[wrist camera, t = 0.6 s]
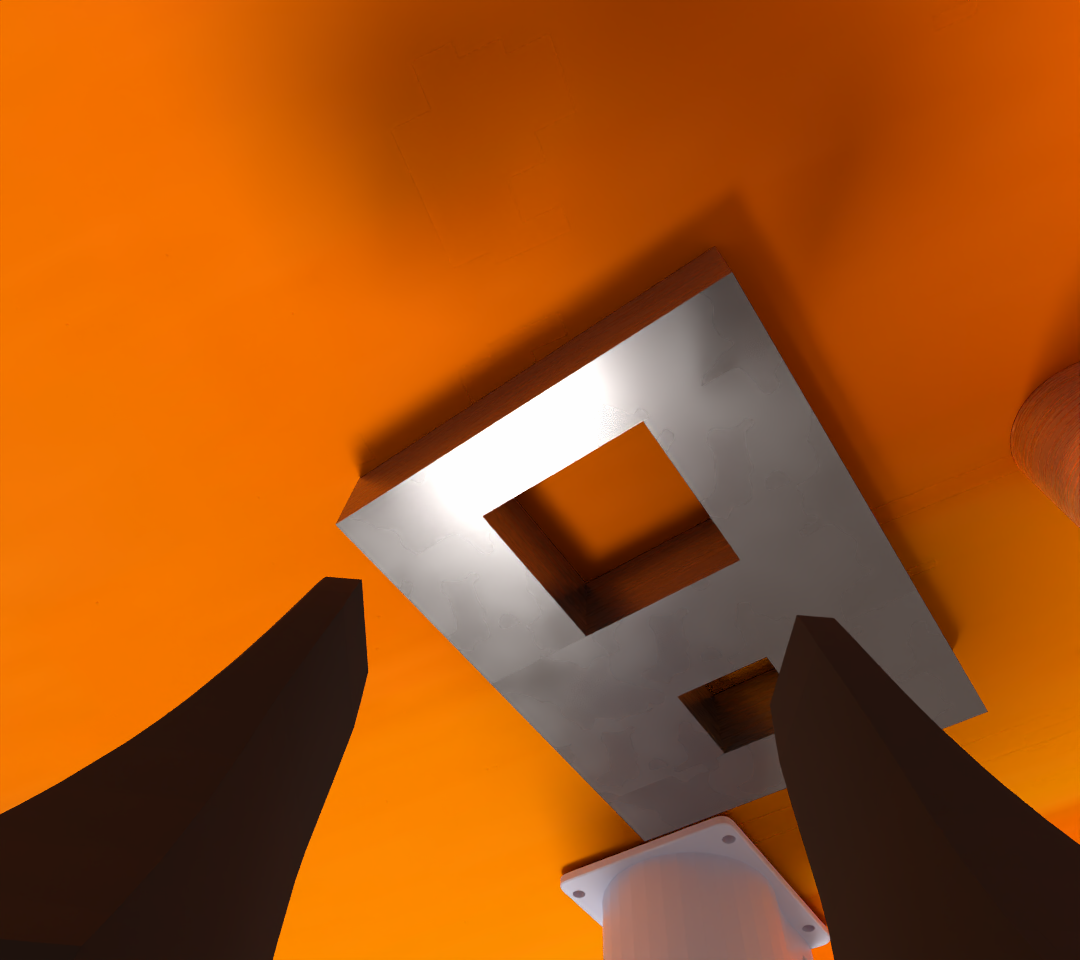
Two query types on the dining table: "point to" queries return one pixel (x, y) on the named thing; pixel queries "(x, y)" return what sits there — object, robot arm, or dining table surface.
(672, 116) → the dining table surface
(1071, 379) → the cylinder
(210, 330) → the dining table surface
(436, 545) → the fitting block
